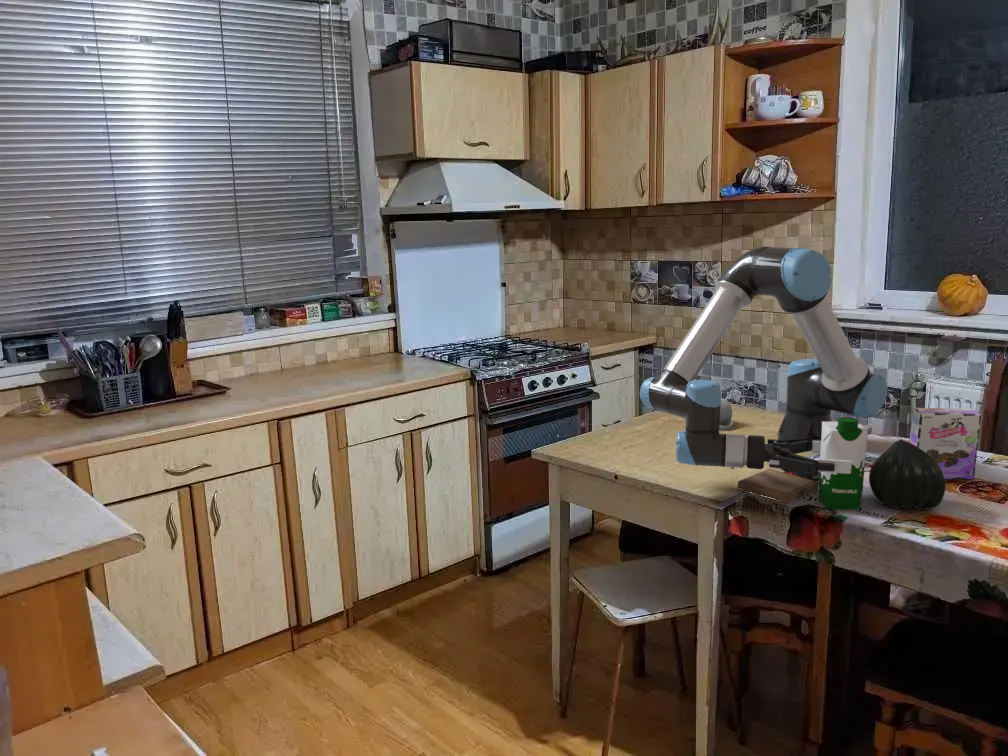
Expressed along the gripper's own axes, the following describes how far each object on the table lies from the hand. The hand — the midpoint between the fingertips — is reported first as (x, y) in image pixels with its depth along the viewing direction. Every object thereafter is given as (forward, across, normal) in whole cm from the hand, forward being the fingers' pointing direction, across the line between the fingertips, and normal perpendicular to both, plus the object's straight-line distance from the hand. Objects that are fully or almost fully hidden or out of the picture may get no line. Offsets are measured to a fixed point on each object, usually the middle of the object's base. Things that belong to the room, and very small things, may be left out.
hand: (847, 457), depth 182 cm
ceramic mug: (-28, -60, -11) cm, 67 cm away
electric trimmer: (-9, -20, -11) cm, 25 cm away
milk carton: (-1, 0, -11) cm, 11 cm away
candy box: (+25, -25, -11) cm, 37 cm away
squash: (+13, -3, -11) cm, 17 cm away
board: (-14, -7, -11) cm, 19 cm away
